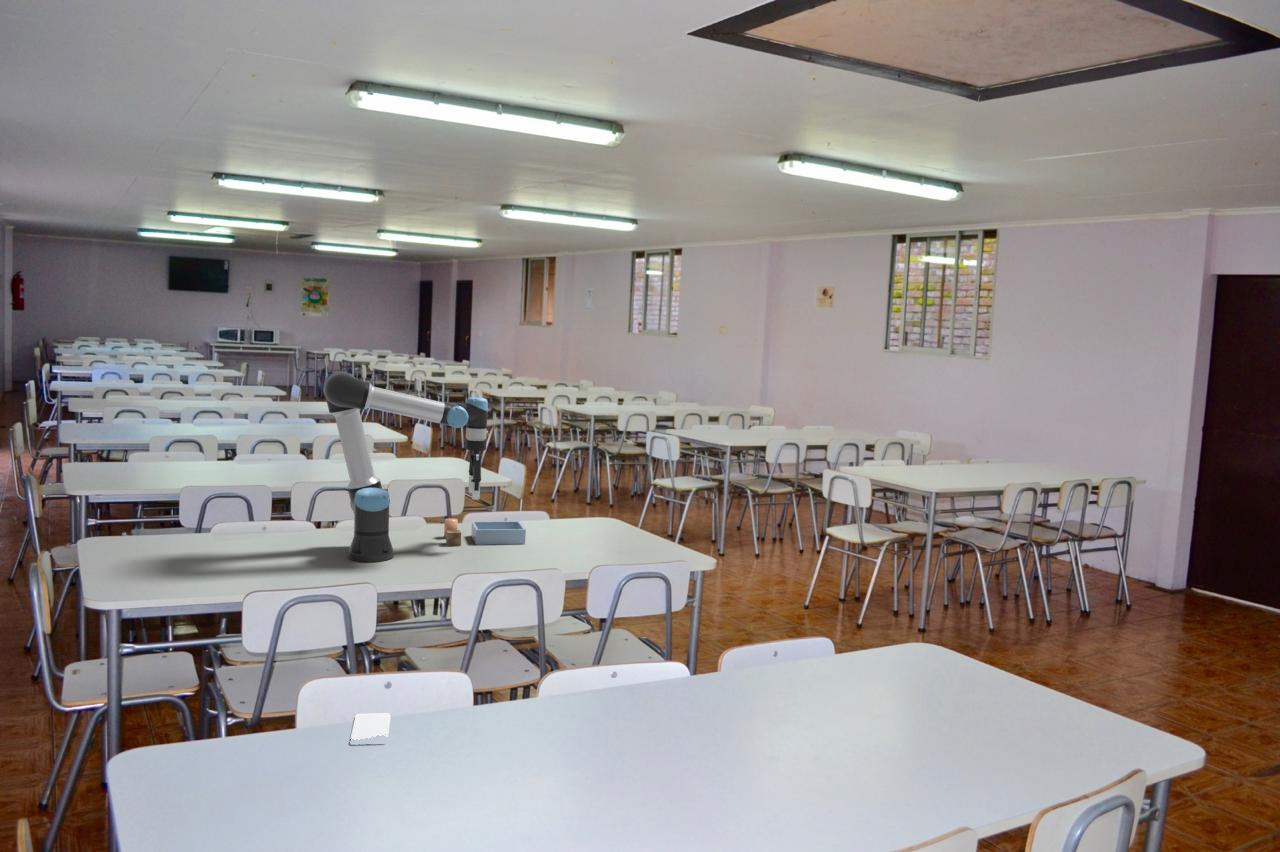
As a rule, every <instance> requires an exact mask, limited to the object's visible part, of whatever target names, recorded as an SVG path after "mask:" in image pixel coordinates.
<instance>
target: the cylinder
mask: <svg viewBox="0 0 1280 852" xmlns="http://www.w3.org/2000/svg"><path fill="white" fill-rule="evenodd" d="M458 521H459V520H458V518H453V517H451V518H450V517H449V518H444V523H443V524H444V530H443V531H444V532H443V538H444V539H446V532H447V530H459V529H458V526H459V525H458V523H459V522H458Z"/></svg>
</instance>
